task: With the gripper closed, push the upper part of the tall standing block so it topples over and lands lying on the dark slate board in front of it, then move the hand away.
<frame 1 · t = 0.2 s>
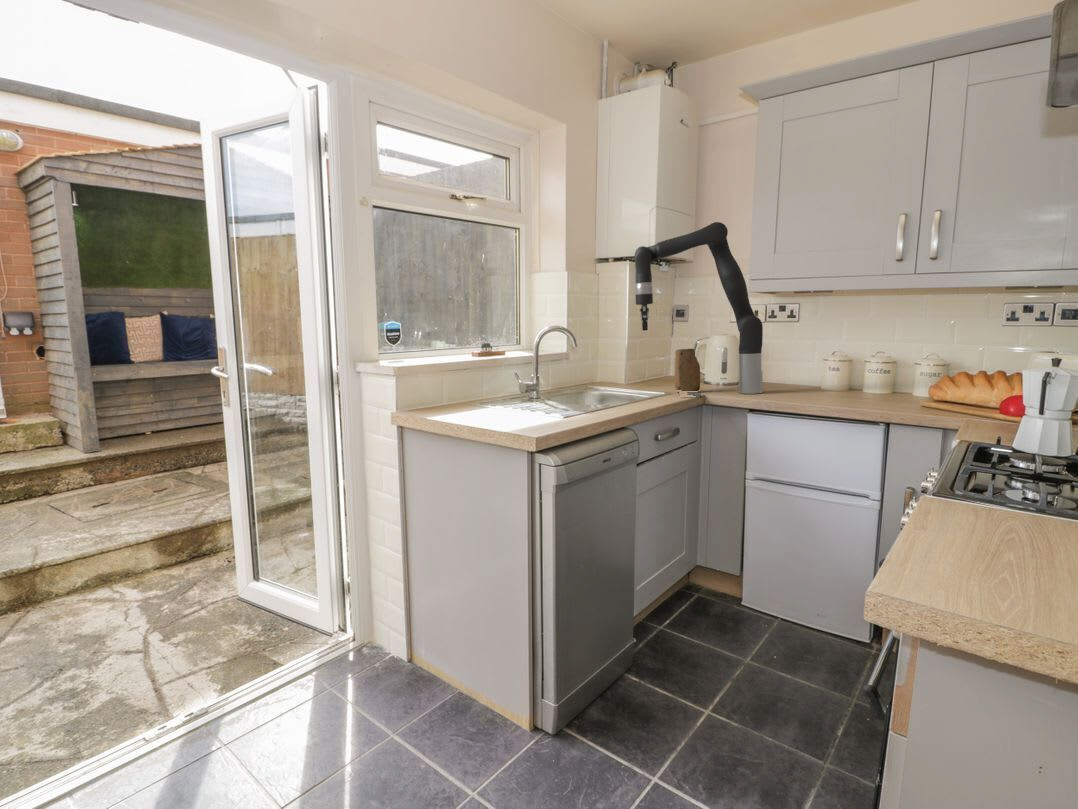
hand: (645, 330, 259), 29 cm above the worktop, tool pointing down, fingers open, 8 cm apart
block: (687, 392, 267), on the worktop
slate board: (689, 396, 253), on the worktop
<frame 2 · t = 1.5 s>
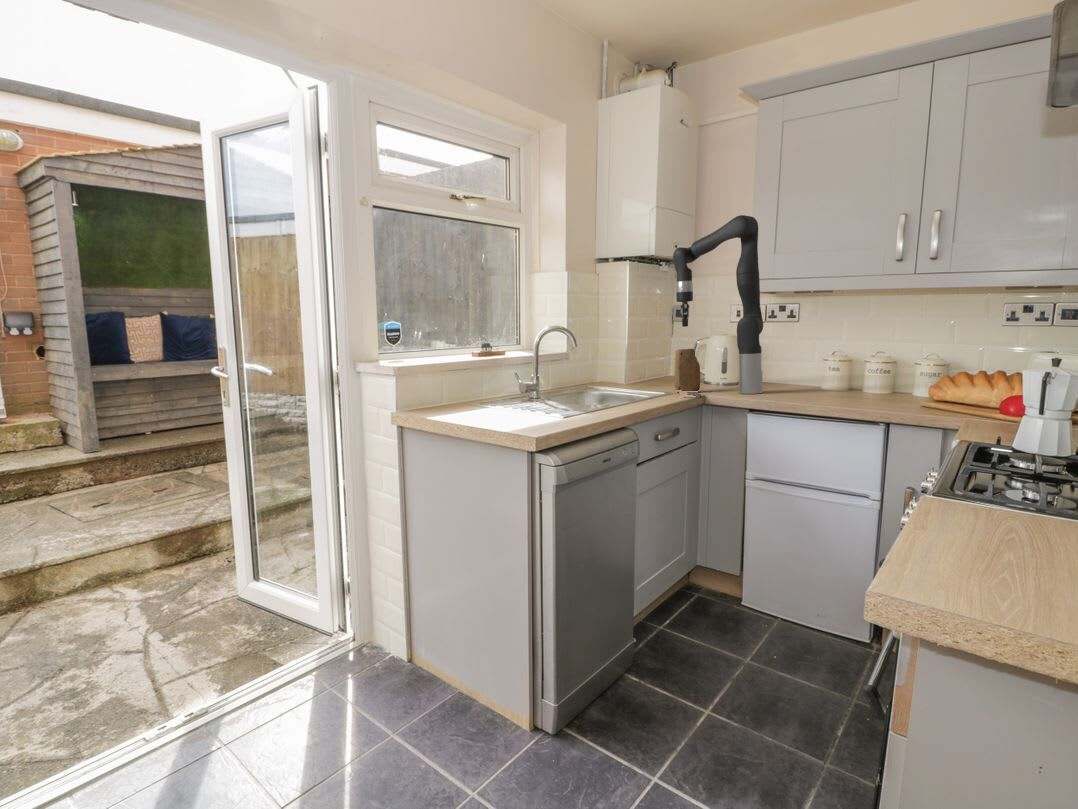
hand: (685, 326, 275), 30 cm above the worktop, tool pointing down, fingers open, 7 cm apart
nothing on the worktop moved.
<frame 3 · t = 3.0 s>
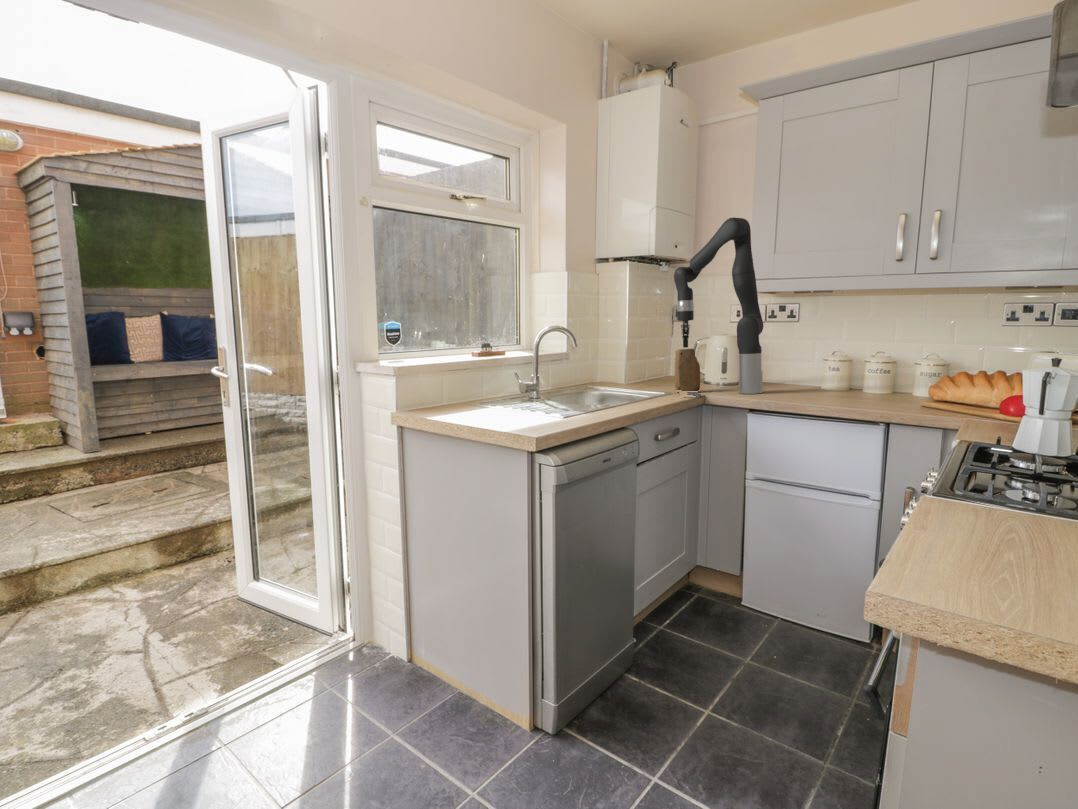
hand: (685, 347, 276), 20 cm above the worktop, tool pointing down, fingers closed
nothing on the worktop moved.
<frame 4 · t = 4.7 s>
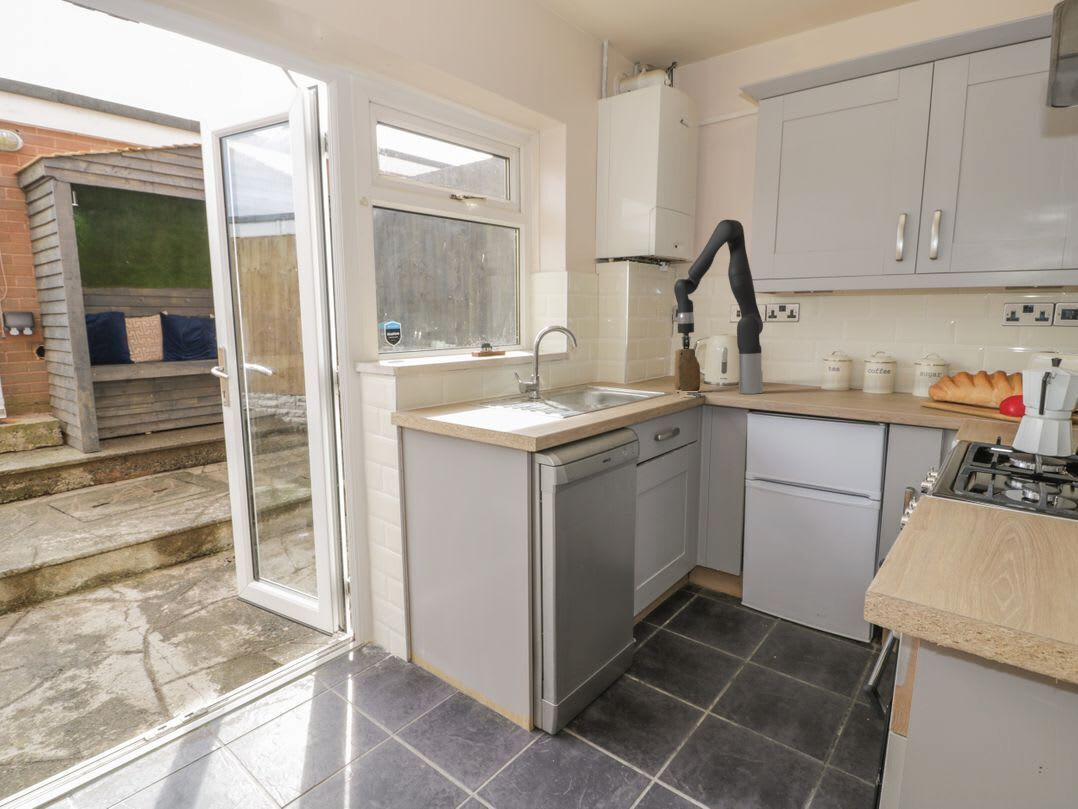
hand: (686, 359, 274), 14 cm above the worktop, tool pointing down, fingers closed
nothing on the worktop moved.
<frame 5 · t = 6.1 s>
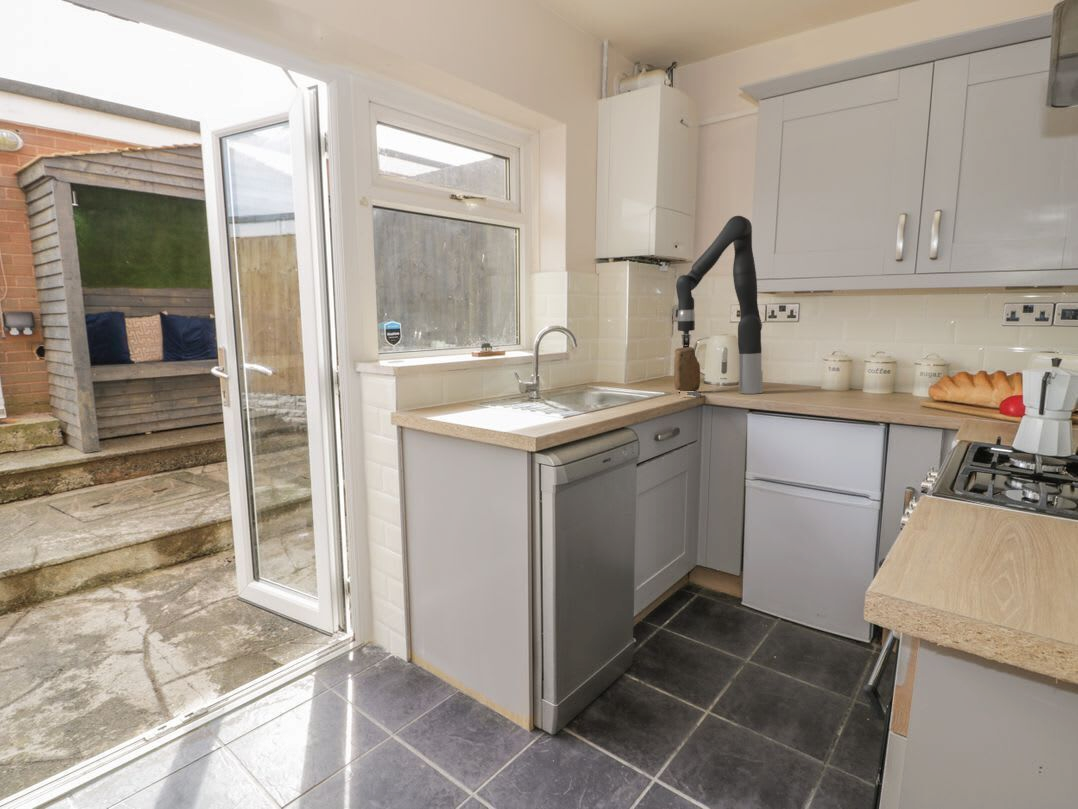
hand: (685, 358, 267), 16 cm above the worktop, tool pointing down, fingers closed
block: (687, 391, 267), point 1 cm above the worktop, touching hand
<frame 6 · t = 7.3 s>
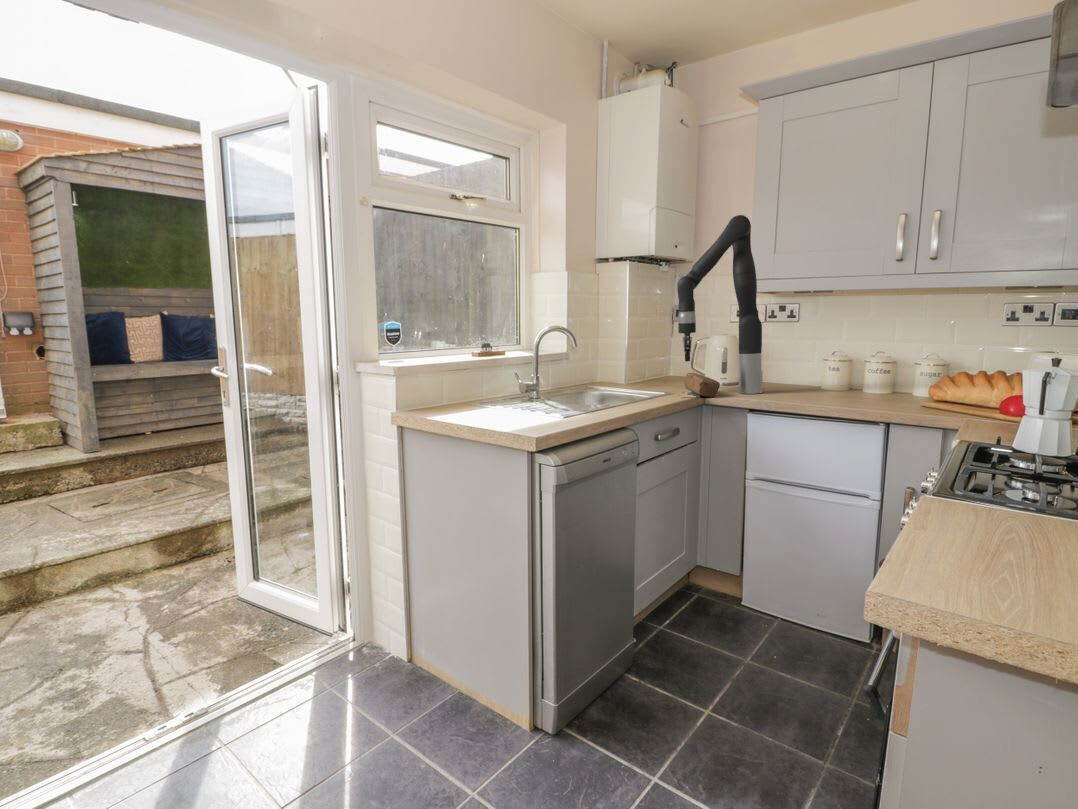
hand: (687, 361, 262), 14 cm above the worktop, tool pointing down, fingers closed
block: (694, 381, 263), point 5 cm above the worktop, touching slate board
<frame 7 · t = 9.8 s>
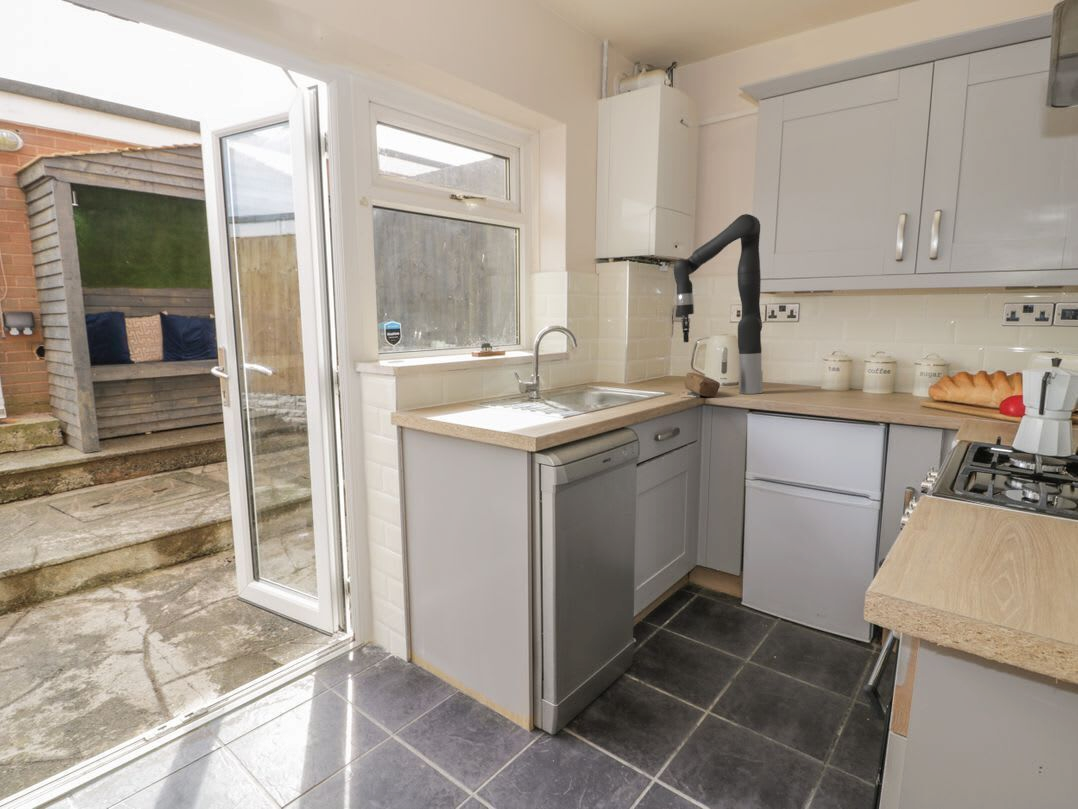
hand: (686, 342, 268), 23 cm above the worktop, tool pointing down, fingers closed
block: (694, 381, 263), point 5 cm above the worktop, touching slate board
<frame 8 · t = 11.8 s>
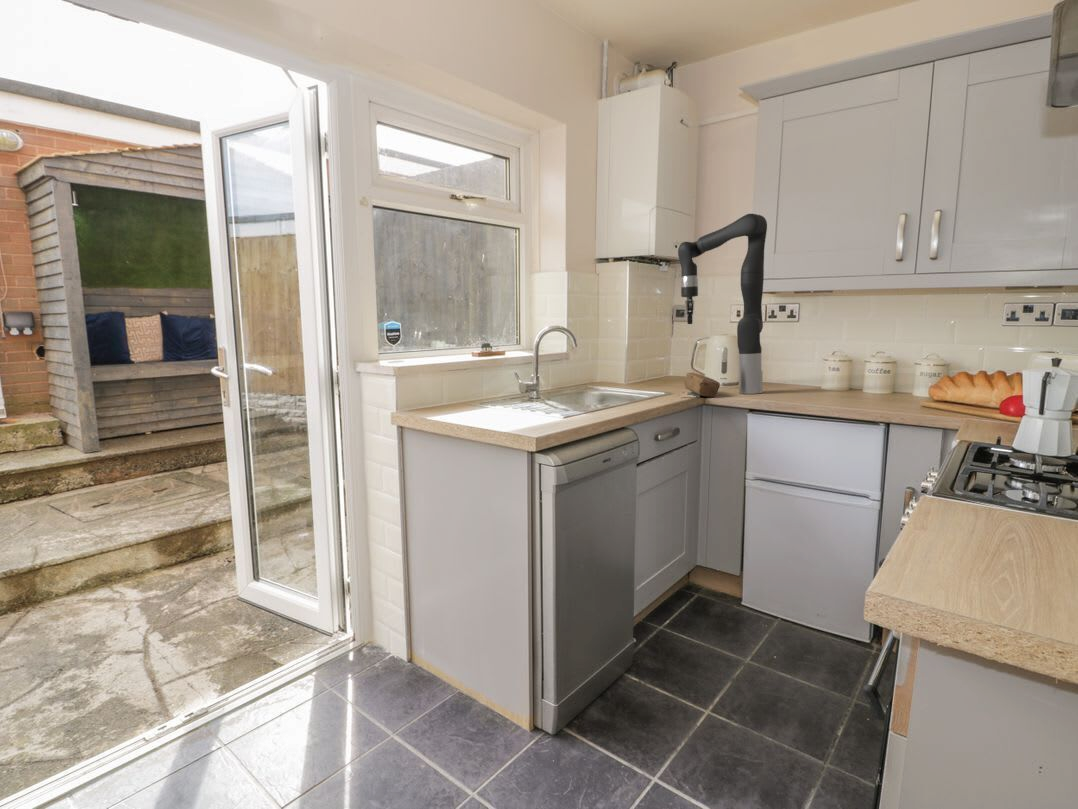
hand: (689, 324, 272), 31 cm above the worktop, tool pointing down, fingers closed
nothing on the worktop moved.
at the end: block tilted 95°; block touching slate board, worktop; block inside the target area (12.1 cm from its centre), point 5.4 cm above the worktop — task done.
